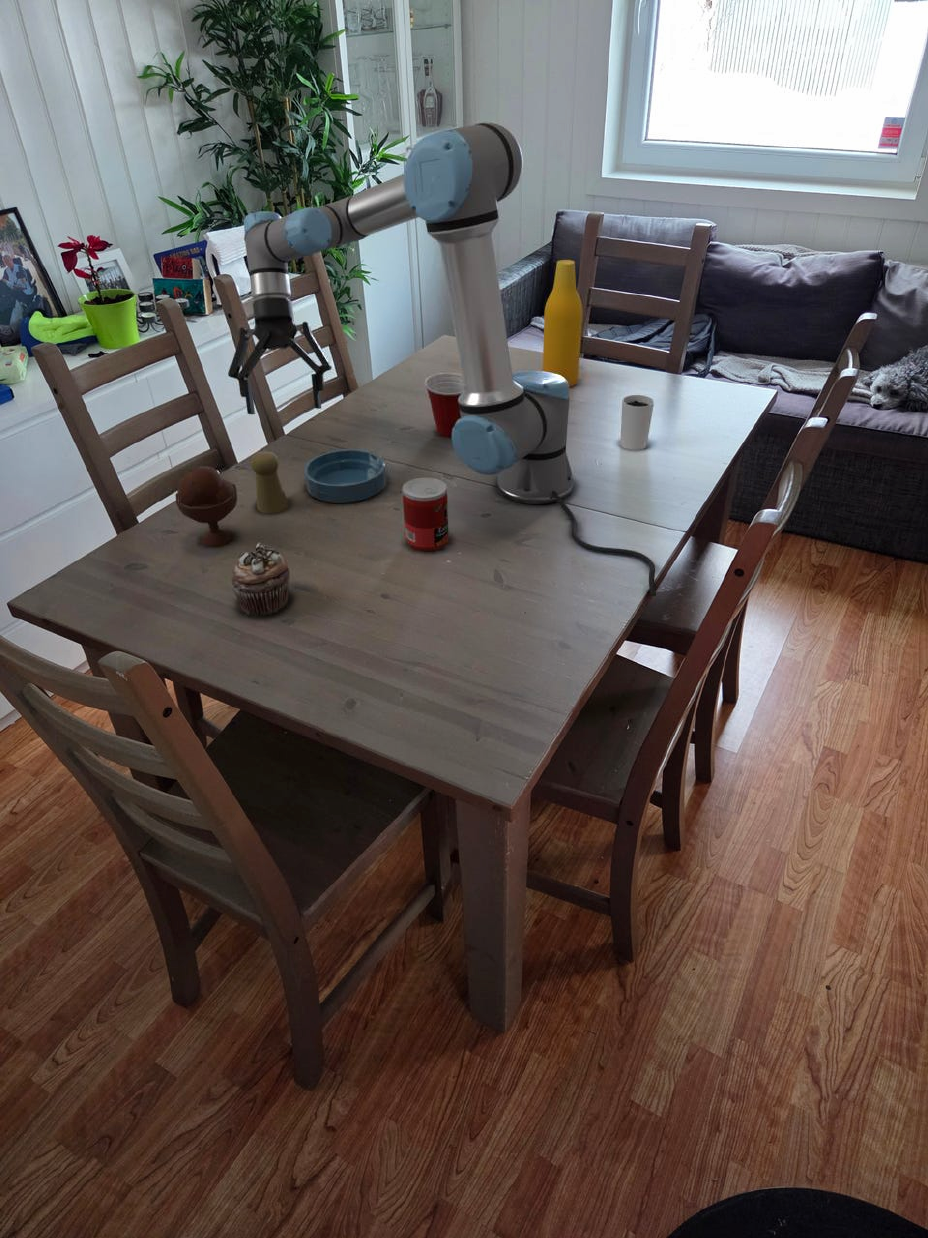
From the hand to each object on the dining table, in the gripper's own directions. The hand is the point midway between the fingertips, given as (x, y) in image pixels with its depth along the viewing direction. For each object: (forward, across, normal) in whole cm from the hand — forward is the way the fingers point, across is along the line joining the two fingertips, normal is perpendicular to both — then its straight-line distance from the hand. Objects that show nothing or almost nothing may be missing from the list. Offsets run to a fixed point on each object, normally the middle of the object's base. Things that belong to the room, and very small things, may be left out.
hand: (284, 411), depth 168 cm
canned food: (+27, -28, +18) cm, 42 cm away
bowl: (+15, -11, -2) cm, 19 cm away
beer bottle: (-5, -59, -51) cm, 79 cm away
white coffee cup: (+12, -72, -18) cm, 75 cm away
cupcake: (+33, -1, +35) cm, 48 cm away
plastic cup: (+6, -32, -25) cm, 41 cm away
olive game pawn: (+18, +3, +6) cm, 20 cm away
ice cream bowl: (+23, +12, +17) cm, 31 cm away
